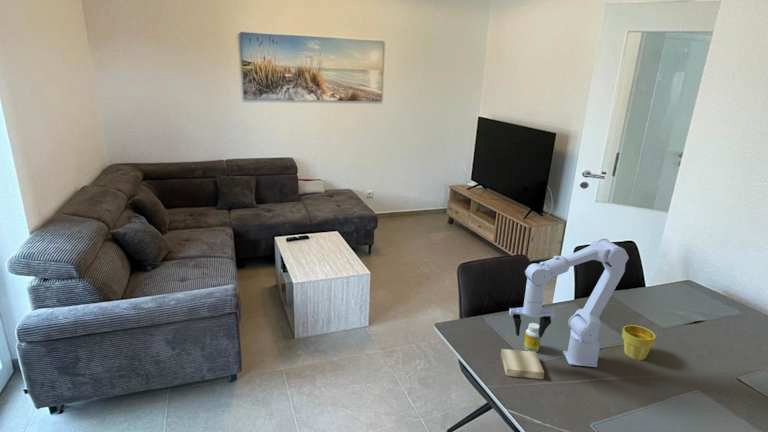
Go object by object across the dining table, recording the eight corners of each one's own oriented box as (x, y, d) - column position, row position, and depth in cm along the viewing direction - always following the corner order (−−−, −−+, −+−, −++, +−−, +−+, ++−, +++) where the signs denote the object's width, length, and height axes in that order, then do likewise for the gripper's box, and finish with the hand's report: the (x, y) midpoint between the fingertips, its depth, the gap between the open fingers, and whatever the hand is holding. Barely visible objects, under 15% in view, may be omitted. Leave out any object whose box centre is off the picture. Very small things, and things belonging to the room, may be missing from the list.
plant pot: (614, 355, 161) (619, 331, 159) (622, 344, 169) (627, 321, 166) (646, 368, 155) (652, 343, 152) (653, 356, 162) (659, 332, 159)
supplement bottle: (530, 343, 167) (533, 320, 164) (542, 350, 163) (545, 326, 160) (520, 347, 164) (523, 324, 161) (532, 354, 160) (536, 330, 157)
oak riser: (534, 359, 158) (535, 351, 157) (543, 380, 146) (544, 372, 145) (500, 356, 159) (501, 348, 158) (505, 376, 147) (507, 369, 146)
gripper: (552, 295, 152) (546, 330, 156) (509, 292, 153) (505, 327, 157) (558, 304, 146) (552, 341, 149) (513, 301, 147) (508, 338, 150)
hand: (528, 335), depth 153 cm, fingers open, 7 cm apart
